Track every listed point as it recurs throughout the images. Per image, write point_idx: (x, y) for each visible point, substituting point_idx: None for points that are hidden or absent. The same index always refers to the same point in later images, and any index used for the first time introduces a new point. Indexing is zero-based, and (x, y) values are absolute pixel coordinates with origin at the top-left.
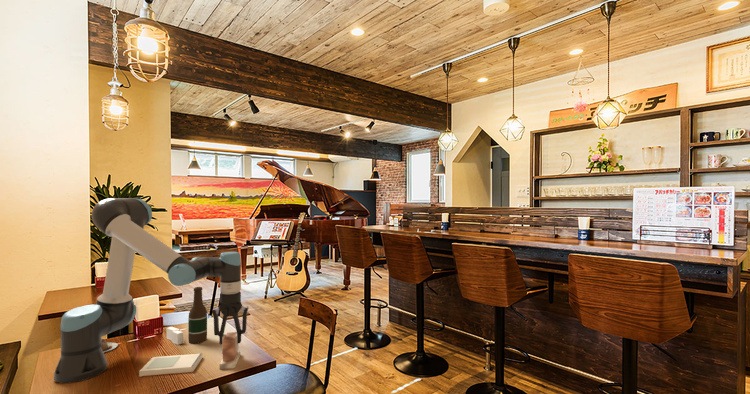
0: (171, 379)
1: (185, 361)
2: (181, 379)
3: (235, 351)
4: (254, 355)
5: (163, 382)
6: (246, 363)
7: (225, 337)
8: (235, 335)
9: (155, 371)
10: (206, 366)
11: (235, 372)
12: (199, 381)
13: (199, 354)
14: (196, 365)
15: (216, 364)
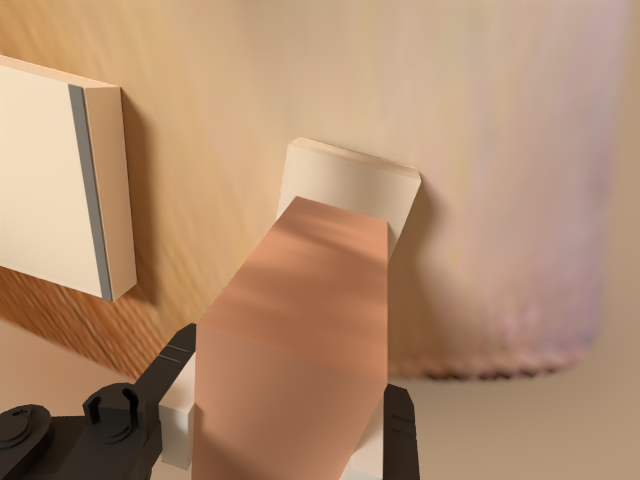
0: (67, 304)
1: (31, 203)
2: (111, 324)
3: None
4: (530, 218)
5: (48, 314)
6: (427, 318)
7: (206, 461)
8: (333, 474)
9: None
10: (187, 243)
11: None
12: None
13: (71, 105)
14: (124, 233)
15: (242, 244)
